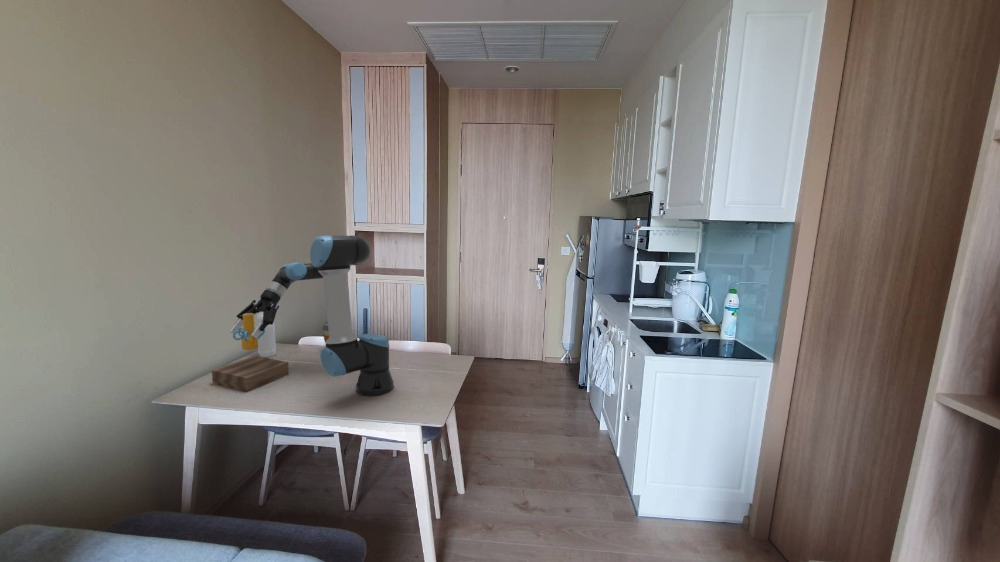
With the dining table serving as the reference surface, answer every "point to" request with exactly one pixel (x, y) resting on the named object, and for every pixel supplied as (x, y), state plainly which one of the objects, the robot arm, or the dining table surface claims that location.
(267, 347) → the bottle
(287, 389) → the dining table surface
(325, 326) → the reusable coffee cup
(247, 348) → the yellow tube with loops
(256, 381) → the walnut block
